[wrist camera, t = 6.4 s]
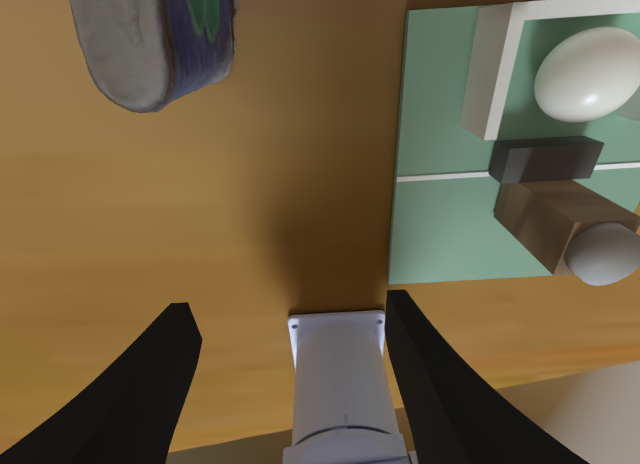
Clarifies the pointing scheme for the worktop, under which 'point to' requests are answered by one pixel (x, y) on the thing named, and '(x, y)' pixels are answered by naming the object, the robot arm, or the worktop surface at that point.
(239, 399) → the worktop surface
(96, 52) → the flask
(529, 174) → the kicker
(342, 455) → the robot arm
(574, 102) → the ball
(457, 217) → the board
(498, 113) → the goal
